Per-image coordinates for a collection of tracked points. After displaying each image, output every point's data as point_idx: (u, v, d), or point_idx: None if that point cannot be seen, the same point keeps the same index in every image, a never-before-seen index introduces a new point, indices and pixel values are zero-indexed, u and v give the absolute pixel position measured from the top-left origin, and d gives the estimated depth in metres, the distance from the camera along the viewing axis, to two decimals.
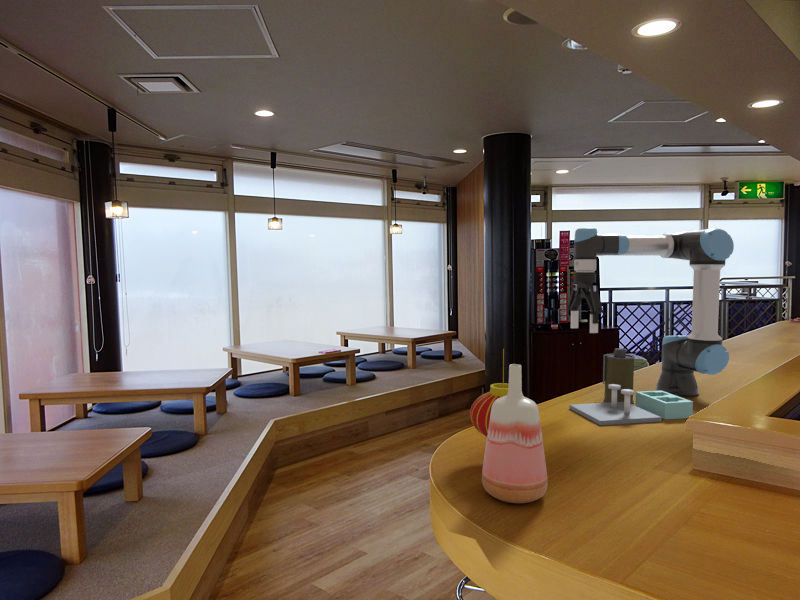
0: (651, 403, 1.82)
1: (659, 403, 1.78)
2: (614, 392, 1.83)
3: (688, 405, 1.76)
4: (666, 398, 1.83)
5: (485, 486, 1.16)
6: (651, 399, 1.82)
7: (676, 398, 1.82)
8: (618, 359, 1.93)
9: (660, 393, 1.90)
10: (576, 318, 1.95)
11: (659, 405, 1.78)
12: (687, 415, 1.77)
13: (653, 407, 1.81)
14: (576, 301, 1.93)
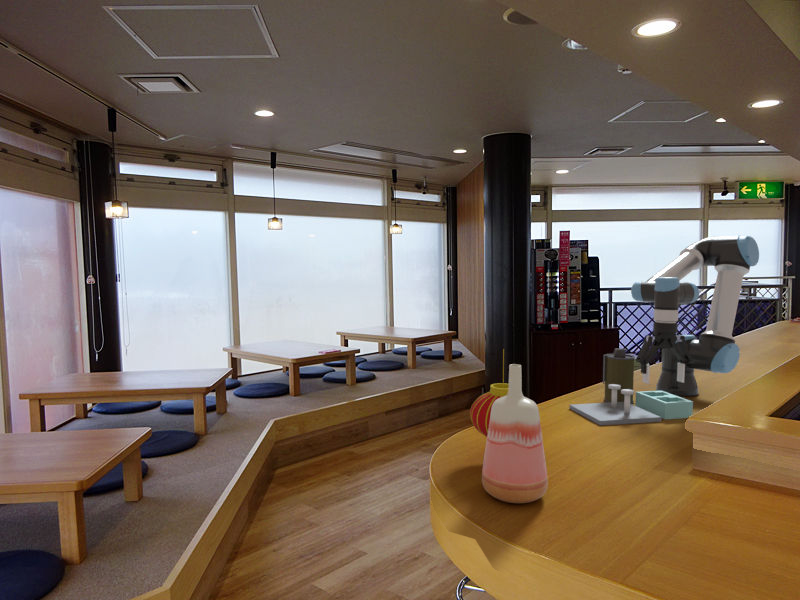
0: (651, 403, 1.82)
1: (659, 403, 1.78)
2: (614, 392, 1.83)
3: (688, 405, 1.76)
4: (666, 398, 1.83)
5: (485, 486, 1.16)
6: (651, 399, 1.82)
7: (676, 398, 1.82)
8: (618, 359, 1.93)
9: (660, 393, 1.90)
10: (681, 371, 1.83)
11: (659, 405, 1.78)
12: (687, 415, 1.77)
13: (653, 407, 1.81)
14: (673, 352, 1.84)
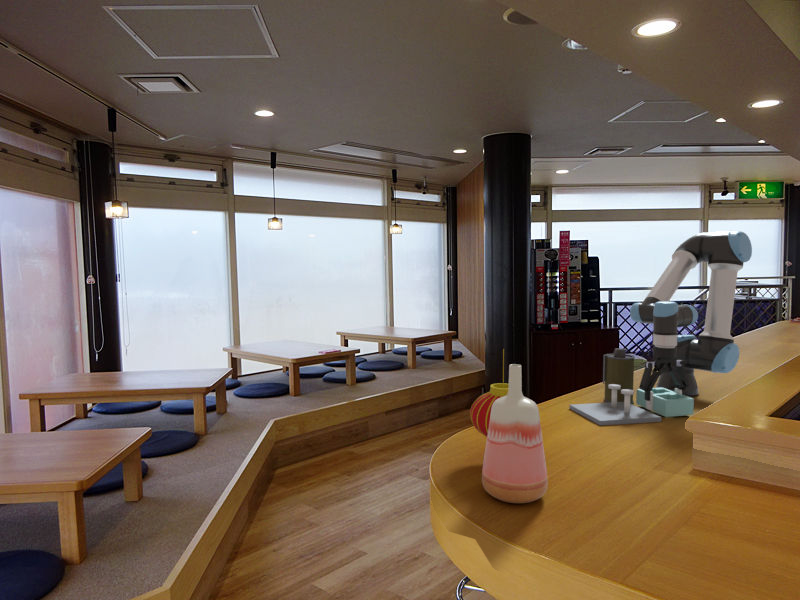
0: None
1: (660, 401, 1.78)
2: (614, 392, 1.83)
3: (689, 402, 1.77)
4: (667, 395, 1.83)
5: (485, 486, 1.16)
6: None
7: (677, 395, 1.82)
8: (618, 359, 1.93)
9: (661, 390, 1.90)
10: None
11: (660, 403, 1.78)
12: (688, 412, 1.77)
13: (654, 405, 1.81)
14: (671, 376, 1.85)
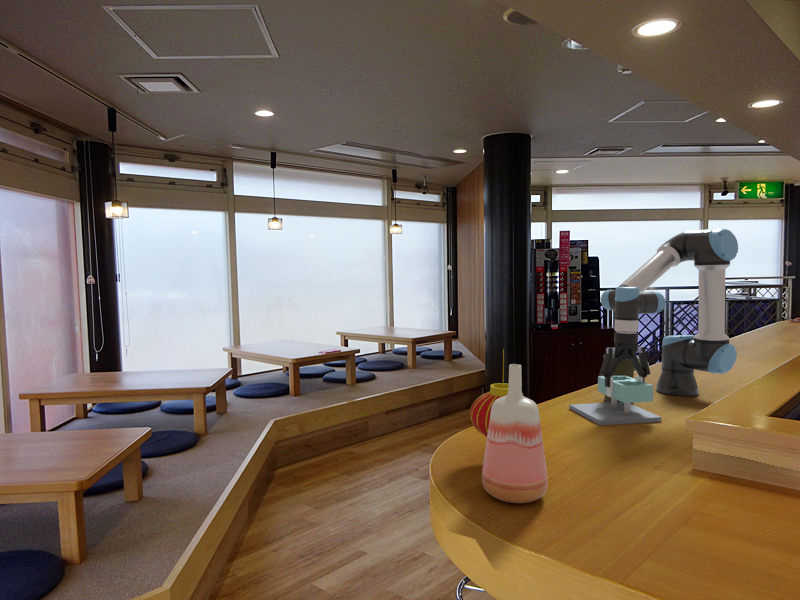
0: None
1: (619, 387, 1.75)
2: None
3: (648, 389, 1.73)
4: (627, 382, 1.80)
5: (485, 486, 1.16)
6: None
7: (637, 382, 1.79)
8: None
9: (623, 378, 1.87)
10: None
11: (619, 389, 1.75)
12: (647, 399, 1.73)
13: (614, 391, 1.78)
14: (633, 363, 1.81)
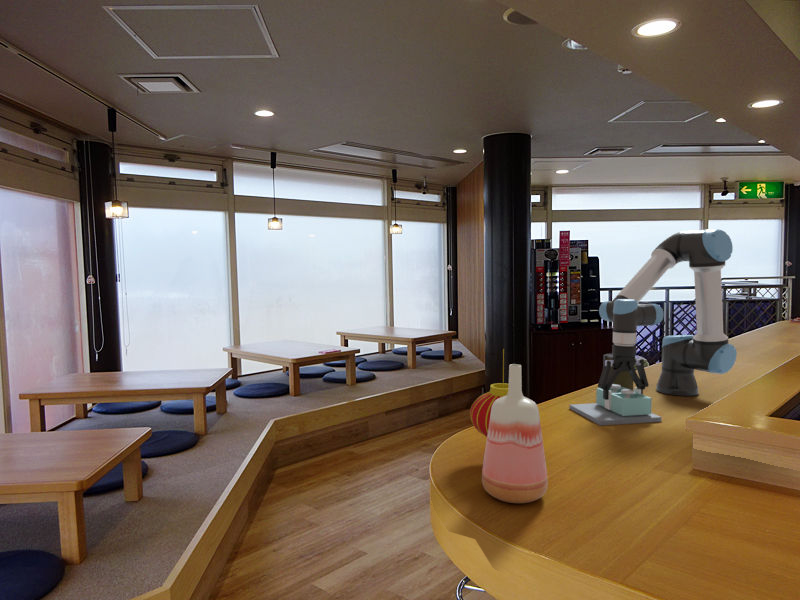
0: None
1: (617, 399, 1.75)
2: (614, 392, 1.83)
3: (647, 401, 1.73)
4: None
5: (485, 486, 1.16)
6: None
7: (636, 394, 1.79)
8: None
9: (621, 389, 1.87)
10: None
11: (617, 401, 1.75)
12: (646, 412, 1.74)
13: (612, 404, 1.78)
14: (631, 375, 1.82)
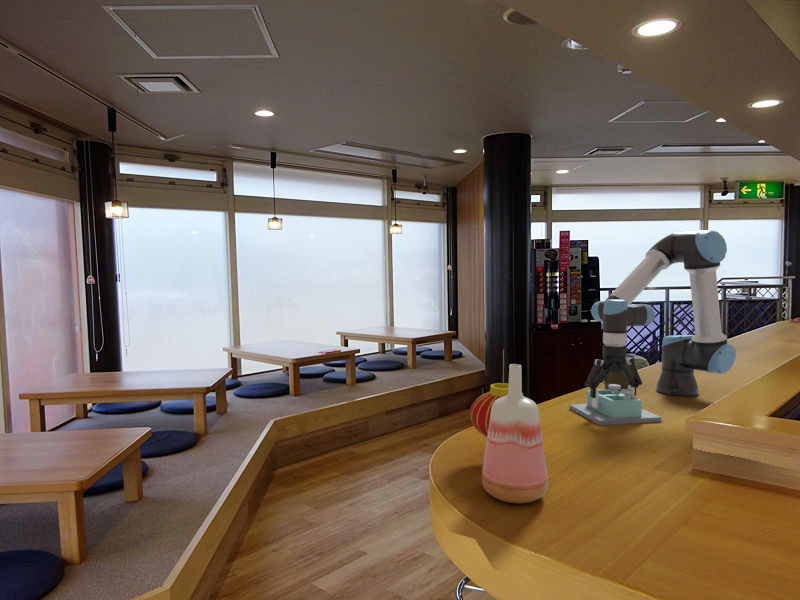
0: (601, 402, 1.78)
1: (607, 401, 1.74)
2: (614, 392, 1.83)
3: (637, 403, 1.73)
4: (616, 396, 1.79)
5: (485, 486, 1.16)
6: (601, 397, 1.78)
7: None
8: None
9: None
10: (631, 395, 1.81)
11: (607, 403, 1.74)
12: (636, 414, 1.73)
13: (602, 406, 1.77)
14: (623, 375, 1.81)
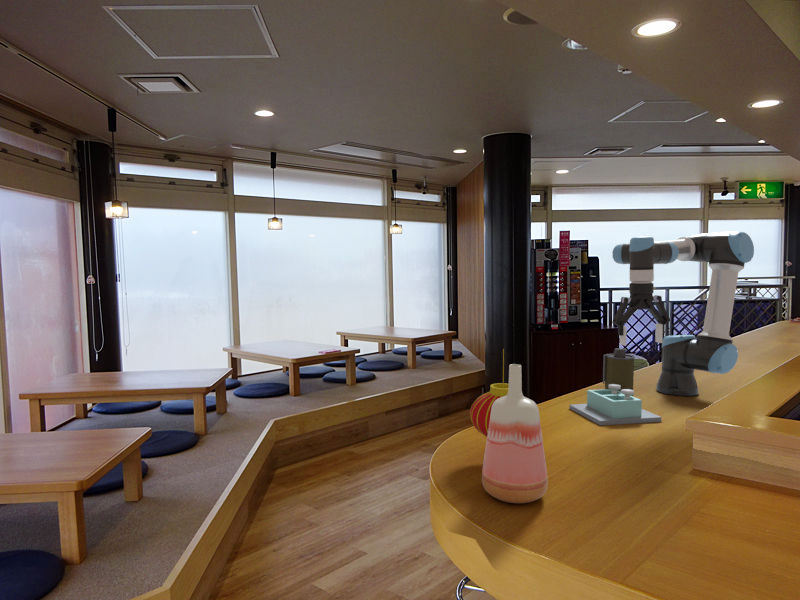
0: (601, 402, 1.78)
1: (607, 401, 1.74)
2: (614, 392, 1.83)
3: (637, 403, 1.73)
4: (616, 396, 1.79)
5: (485, 486, 1.16)
6: (601, 397, 1.78)
7: None
8: (618, 359, 1.93)
9: None
10: (659, 332, 1.81)
11: (607, 403, 1.74)
12: (636, 414, 1.73)
13: (602, 406, 1.77)
14: (651, 313, 1.81)
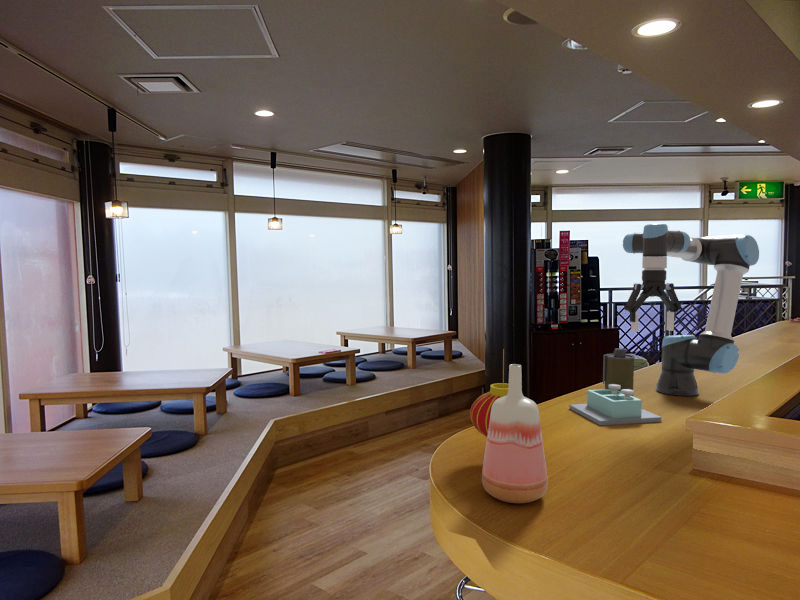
0: (601, 402, 1.78)
1: (607, 401, 1.74)
2: (614, 392, 1.83)
3: (637, 403, 1.73)
4: (616, 396, 1.79)
5: (485, 486, 1.16)
6: (601, 397, 1.78)
7: None
8: (618, 359, 1.93)
9: None
10: (670, 320, 1.81)
11: (607, 403, 1.74)
12: (636, 414, 1.73)
13: (602, 406, 1.77)
14: (662, 300, 1.82)
